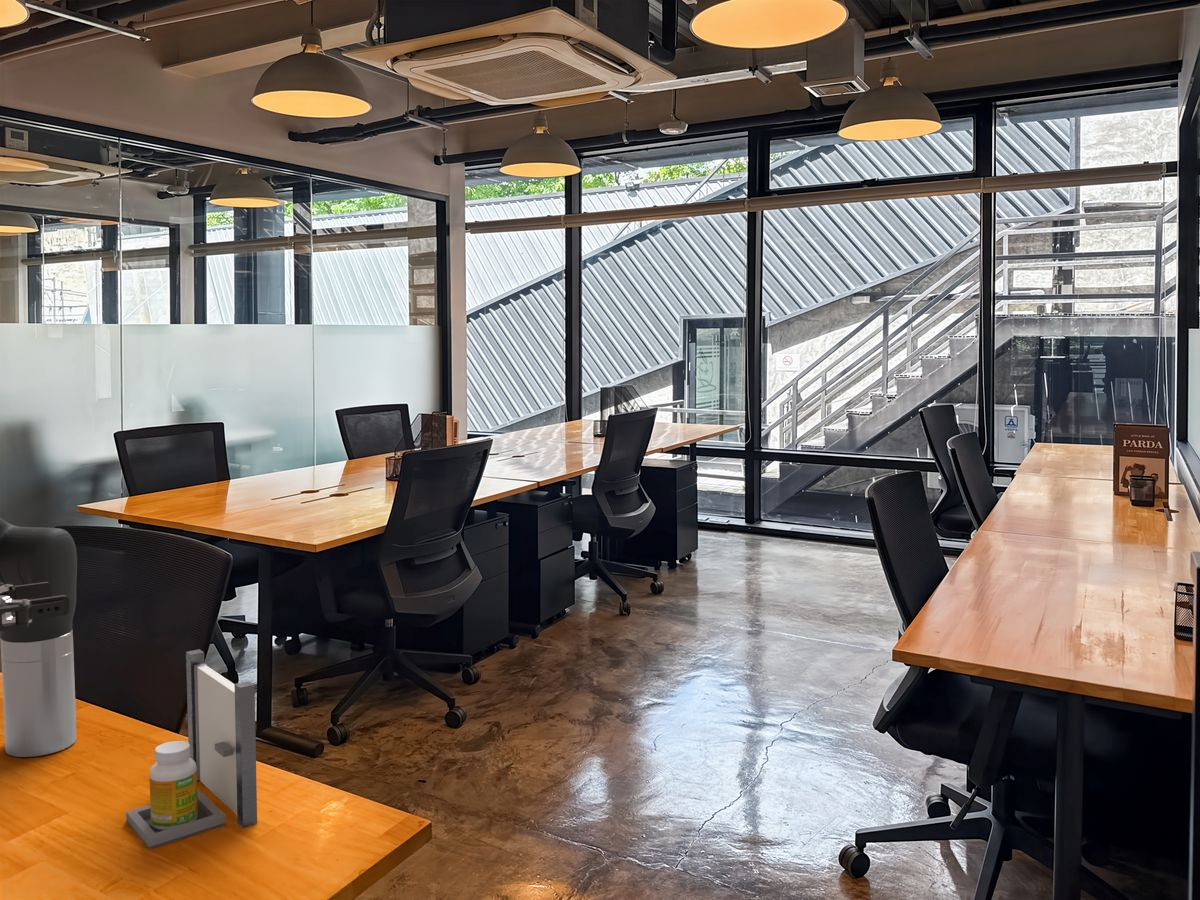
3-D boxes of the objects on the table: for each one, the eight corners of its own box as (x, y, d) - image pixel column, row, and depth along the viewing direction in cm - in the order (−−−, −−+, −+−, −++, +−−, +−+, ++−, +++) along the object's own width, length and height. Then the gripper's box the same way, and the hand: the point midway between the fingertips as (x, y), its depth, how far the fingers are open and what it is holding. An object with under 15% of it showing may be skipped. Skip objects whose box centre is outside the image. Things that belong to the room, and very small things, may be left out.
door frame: (189, 777, 130) (185, 651, 128) (202, 773, 131) (199, 649, 129) (243, 828, 116) (240, 687, 114) (257, 823, 117) (254, 684, 115)
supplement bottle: (179, 834, 113) (177, 757, 112) (141, 829, 114) (138, 753, 113) (207, 813, 118) (205, 740, 118) (169, 809, 120) (167, 736, 119)
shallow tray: (126, 821, 117) (126, 811, 117) (199, 799, 123) (199, 790, 123) (149, 849, 110) (148, 838, 110) (225, 824, 116) (225, 815, 116)
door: (185, 780, 127) (182, 667, 126) (207, 774, 129) (204, 662, 128) (226, 820, 116) (224, 696, 115) (249, 813, 118) (247, 691, 117)
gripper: (-107, 599, 93) (74, 576, 104) (-122, 575, 103) (44, 556, 114) (-103, 672, 93) (76, 641, 104) (-118, 640, 104) (46, 616, 115)
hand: (59, 597), depth 109 cm, fingers open, 8 cm apart
